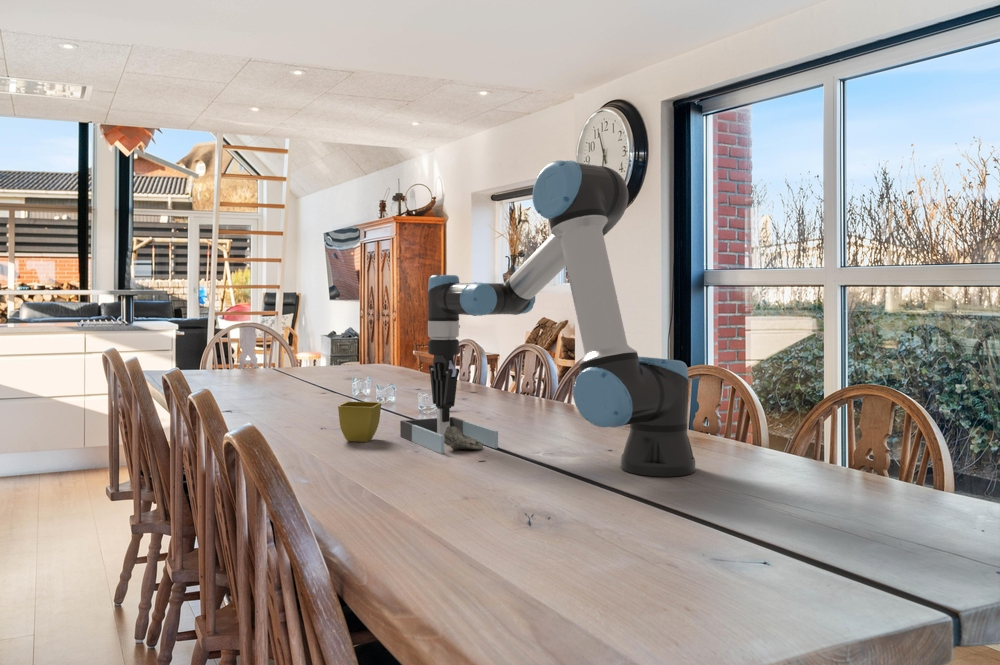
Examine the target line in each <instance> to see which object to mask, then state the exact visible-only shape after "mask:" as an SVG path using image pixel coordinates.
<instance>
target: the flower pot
mask: <svg viewBox="0 0 1000 665" xmlns="http://www.w3.org/2000/svg"><path fill="white" fill-rule="evenodd" d="M382 404H383V402H377V401H376V402H375V401H352V400H351V401H345V402H343V403H341V404H339V405H338V406H337V409H338V420H339V426H340V431H341V432H342V434H343V437H344V438H345V440H346V441H347V442H362V443H367V442H370V441H371V440H372V439H373V438H374V436H375V434H376V432H377V430H378V427H379V425H380V418H381V410H382Z"/></svg>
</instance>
